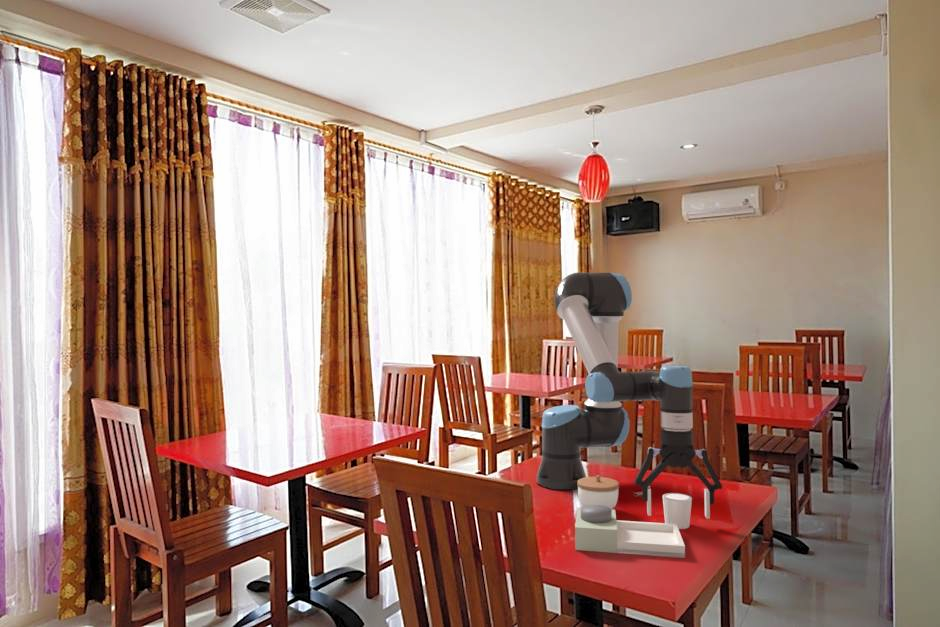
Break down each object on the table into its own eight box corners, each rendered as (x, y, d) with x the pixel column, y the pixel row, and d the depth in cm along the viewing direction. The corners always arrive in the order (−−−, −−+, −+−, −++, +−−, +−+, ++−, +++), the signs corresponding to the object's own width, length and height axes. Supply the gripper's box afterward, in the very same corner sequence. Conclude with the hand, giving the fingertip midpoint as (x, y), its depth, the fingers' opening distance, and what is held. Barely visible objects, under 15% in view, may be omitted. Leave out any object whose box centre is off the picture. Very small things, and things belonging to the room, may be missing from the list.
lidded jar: (588, 519, 154) (588, 482, 154) (570, 506, 164) (570, 472, 164) (626, 515, 157) (626, 479, 157) (606, 503, 167) (606, 469, 167)
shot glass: (662, 528, 148) (662, 499, 148) (662, 519, 154) (662, 491, 154) (692, 531, 146) (692, 501, 146) (691, 521, 152) (691, 493, 152)
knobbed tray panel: (577, 528, 148) (577, 499, 148) (676, 534, 143) (676, 504, 143) (575, 549, 134) (575, 518, 134) (685, 557, 130) (684, 525, 130)
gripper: (625, 430, 149) (626, 517, 148) (734, 432, 144) (735, 523, 143) (623, 425, 156) (624, 508, 156) (727, 427, 151) (728, 513, 151)
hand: (677, 515), depth 150 cm, fingers open, 13 cm apart
